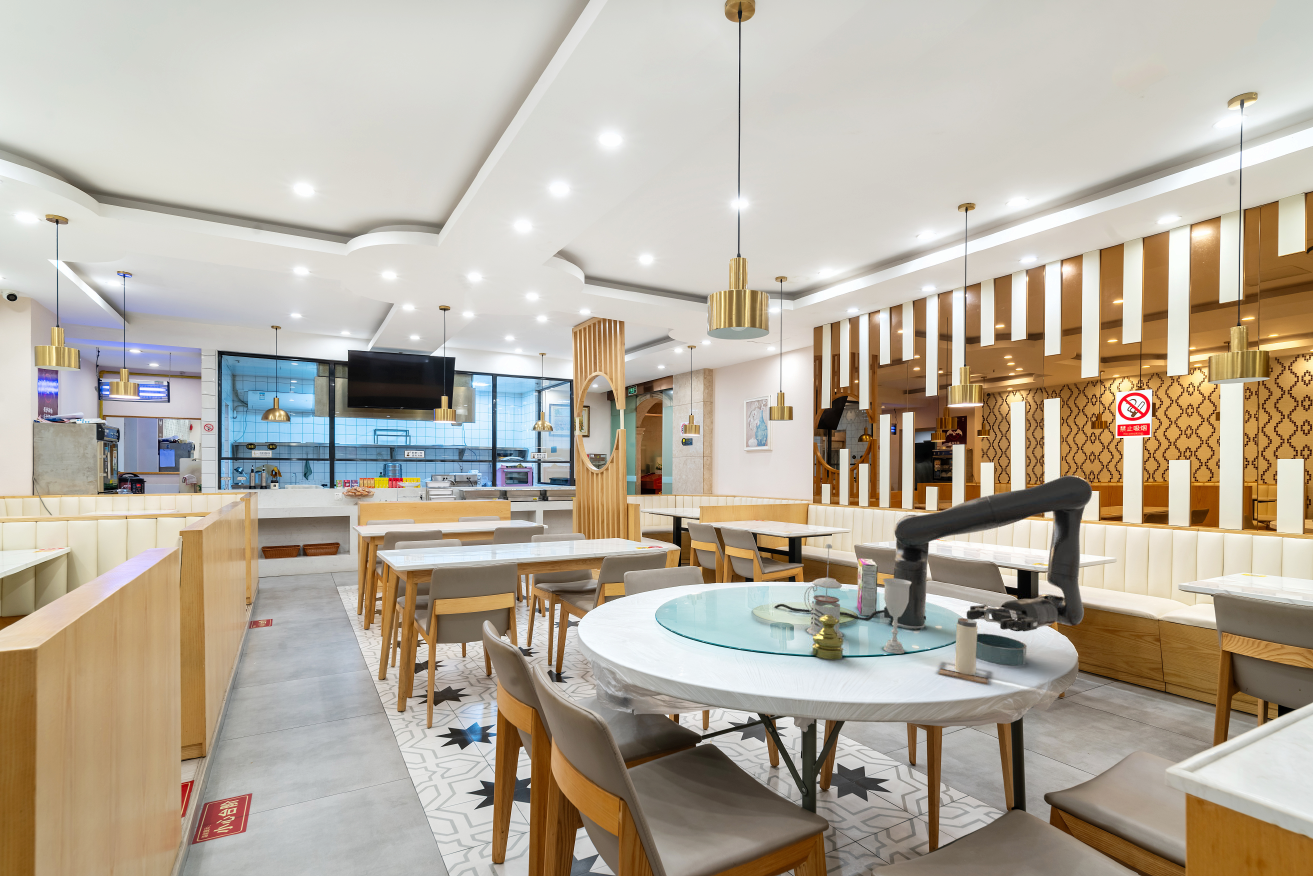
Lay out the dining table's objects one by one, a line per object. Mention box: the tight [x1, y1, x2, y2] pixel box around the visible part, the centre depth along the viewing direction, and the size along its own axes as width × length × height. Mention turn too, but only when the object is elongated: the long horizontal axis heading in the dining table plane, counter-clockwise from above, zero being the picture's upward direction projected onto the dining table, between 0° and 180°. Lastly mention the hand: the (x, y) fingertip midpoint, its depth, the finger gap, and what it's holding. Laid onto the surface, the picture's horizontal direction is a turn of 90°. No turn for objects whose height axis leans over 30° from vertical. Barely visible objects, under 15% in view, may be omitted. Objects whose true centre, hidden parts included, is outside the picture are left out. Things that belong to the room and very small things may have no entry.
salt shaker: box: [811, 614, 845, 661], centre depth 154 cm, size 7×7×10 cm
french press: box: [803, 543, 844, 638], centre depth 175 cm, size 10×12×25 cm
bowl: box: [976, 632, 1027, 666], centre depth 158 cm, size 13×13×4 cm
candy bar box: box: [856, 558, 879, 618], centre depth 200 cm, size 11×5×16 cm, turn 168°
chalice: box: [882, 577, 911, 655], centre depth 161 cm, size 7×7×18 cm
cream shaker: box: [954, 617, 978, 675], centre depth 146 cm, size 4×4×12 cm
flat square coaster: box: [938, 668, 989, 685], centre depth 146 cm, size 10×10×1 cm
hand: (984, 620), depth 150 cm, fingers open, 8 cm apart
